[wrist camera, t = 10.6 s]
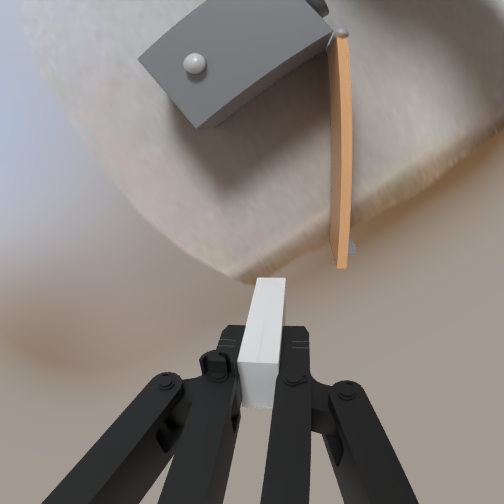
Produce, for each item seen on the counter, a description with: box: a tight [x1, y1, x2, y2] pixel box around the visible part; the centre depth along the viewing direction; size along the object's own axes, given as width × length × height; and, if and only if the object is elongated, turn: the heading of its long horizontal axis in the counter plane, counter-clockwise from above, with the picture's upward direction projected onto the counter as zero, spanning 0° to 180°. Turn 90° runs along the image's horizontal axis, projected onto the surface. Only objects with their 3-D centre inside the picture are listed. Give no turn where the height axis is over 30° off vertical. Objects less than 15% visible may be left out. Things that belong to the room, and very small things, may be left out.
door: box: [327, 28, 356, 269], centre depth 30 cm, size 24×2×8 cm, turn 2°
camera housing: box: [138, 0, 333, 129], centre depth 27 cm, size 18×10×9 cm, turn 128°
